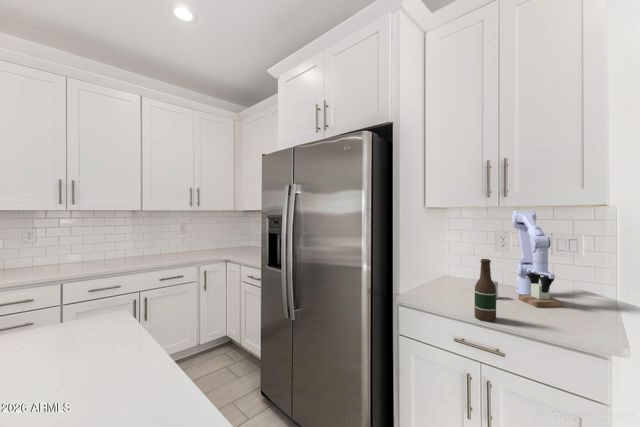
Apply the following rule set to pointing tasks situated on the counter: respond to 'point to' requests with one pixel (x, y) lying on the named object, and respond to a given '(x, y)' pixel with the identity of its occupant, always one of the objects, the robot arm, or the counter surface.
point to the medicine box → (496, 287)
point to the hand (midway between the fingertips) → (540, 290)
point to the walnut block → (540, 301)
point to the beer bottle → (485, 294)
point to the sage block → (539, 291)
